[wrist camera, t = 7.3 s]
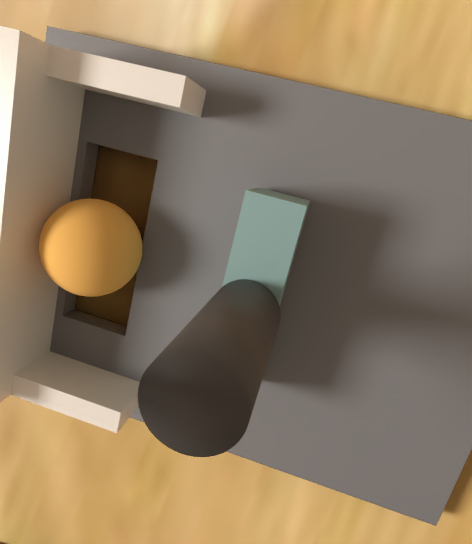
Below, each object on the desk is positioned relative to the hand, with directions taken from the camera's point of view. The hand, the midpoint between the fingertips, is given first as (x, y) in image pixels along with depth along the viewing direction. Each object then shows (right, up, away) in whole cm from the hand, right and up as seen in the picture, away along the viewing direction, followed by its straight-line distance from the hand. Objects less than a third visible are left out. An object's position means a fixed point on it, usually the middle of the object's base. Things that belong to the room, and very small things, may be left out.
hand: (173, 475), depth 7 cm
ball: (-5, +4, +10) cm, 12 cm away
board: (+2, +3, +11) cm, 12 cm away
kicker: (+2, +3, +10) cm, 11 cm away
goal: (-5, +5, +11) cm, 13 cm away
